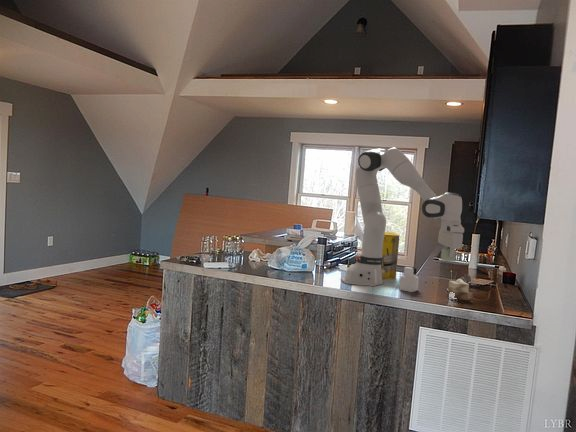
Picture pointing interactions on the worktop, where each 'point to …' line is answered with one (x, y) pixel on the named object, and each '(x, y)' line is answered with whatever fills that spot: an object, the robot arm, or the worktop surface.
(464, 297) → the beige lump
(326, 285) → the worktop surface
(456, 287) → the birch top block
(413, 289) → the medicine bottle
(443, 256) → the sage cube
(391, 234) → the packaging box
